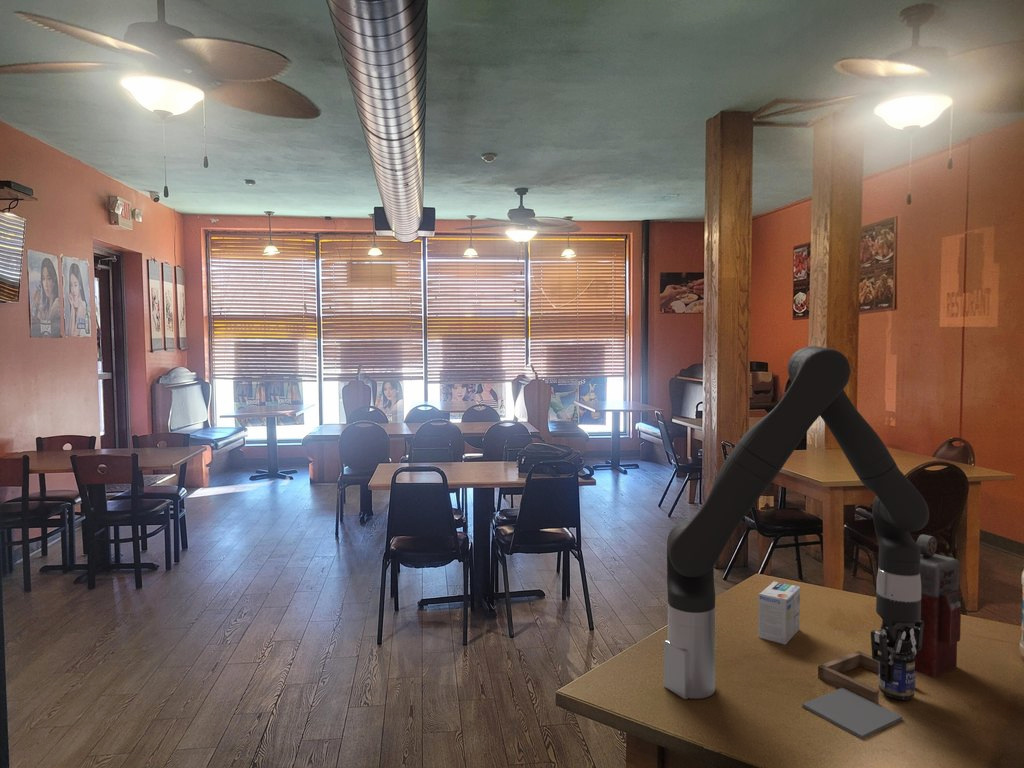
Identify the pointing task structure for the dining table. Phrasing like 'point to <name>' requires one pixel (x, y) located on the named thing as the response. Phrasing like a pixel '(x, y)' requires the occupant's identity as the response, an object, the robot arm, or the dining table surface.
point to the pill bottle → (901, 674)
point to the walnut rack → (833, 676)
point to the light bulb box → (779, 612)
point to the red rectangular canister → (938, 610)
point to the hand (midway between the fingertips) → (896, 676)
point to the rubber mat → (852, 712)
